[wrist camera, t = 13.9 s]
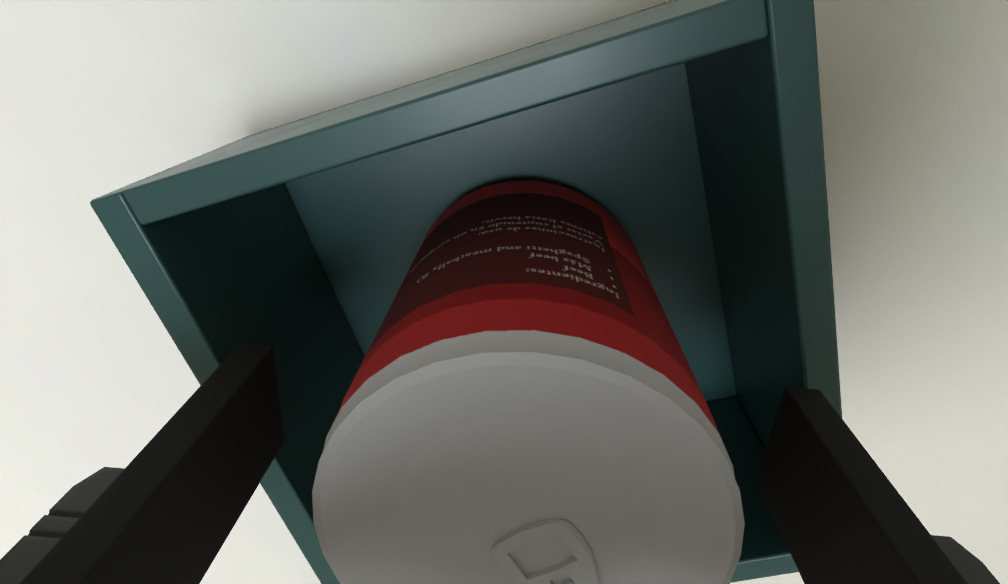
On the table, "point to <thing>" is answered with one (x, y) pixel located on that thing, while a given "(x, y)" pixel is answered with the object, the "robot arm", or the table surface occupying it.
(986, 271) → the table surface
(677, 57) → the bin
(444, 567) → the canned food
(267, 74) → the table surface
